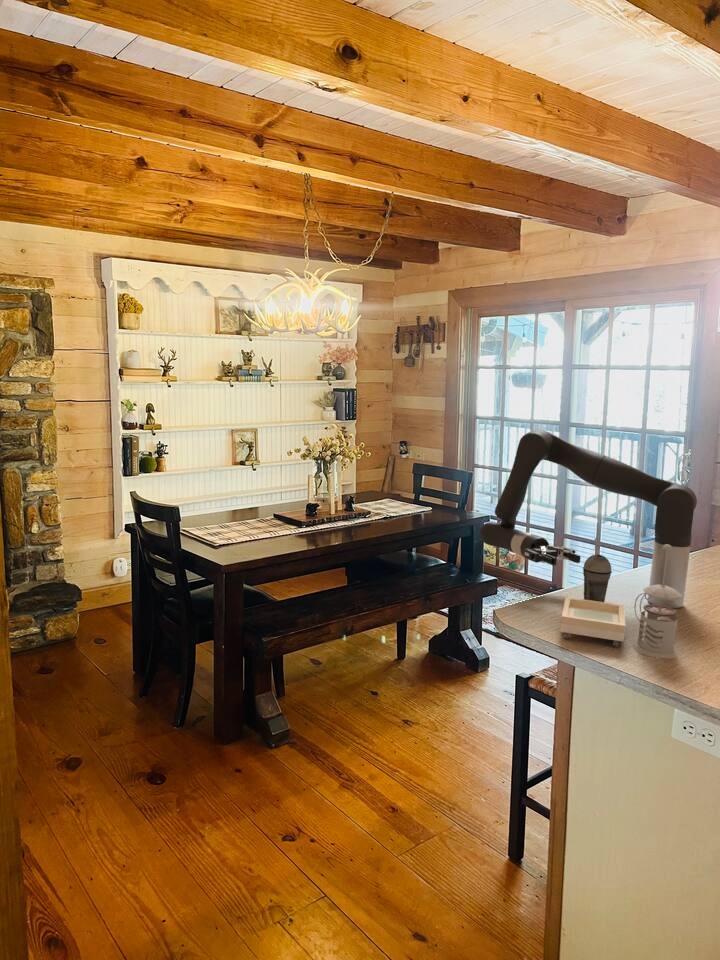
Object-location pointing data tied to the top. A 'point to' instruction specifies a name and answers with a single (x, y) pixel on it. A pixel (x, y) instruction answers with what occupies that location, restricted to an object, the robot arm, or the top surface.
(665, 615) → the french press
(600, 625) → the caster cart
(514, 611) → the top surface
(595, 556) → the beverage cup
